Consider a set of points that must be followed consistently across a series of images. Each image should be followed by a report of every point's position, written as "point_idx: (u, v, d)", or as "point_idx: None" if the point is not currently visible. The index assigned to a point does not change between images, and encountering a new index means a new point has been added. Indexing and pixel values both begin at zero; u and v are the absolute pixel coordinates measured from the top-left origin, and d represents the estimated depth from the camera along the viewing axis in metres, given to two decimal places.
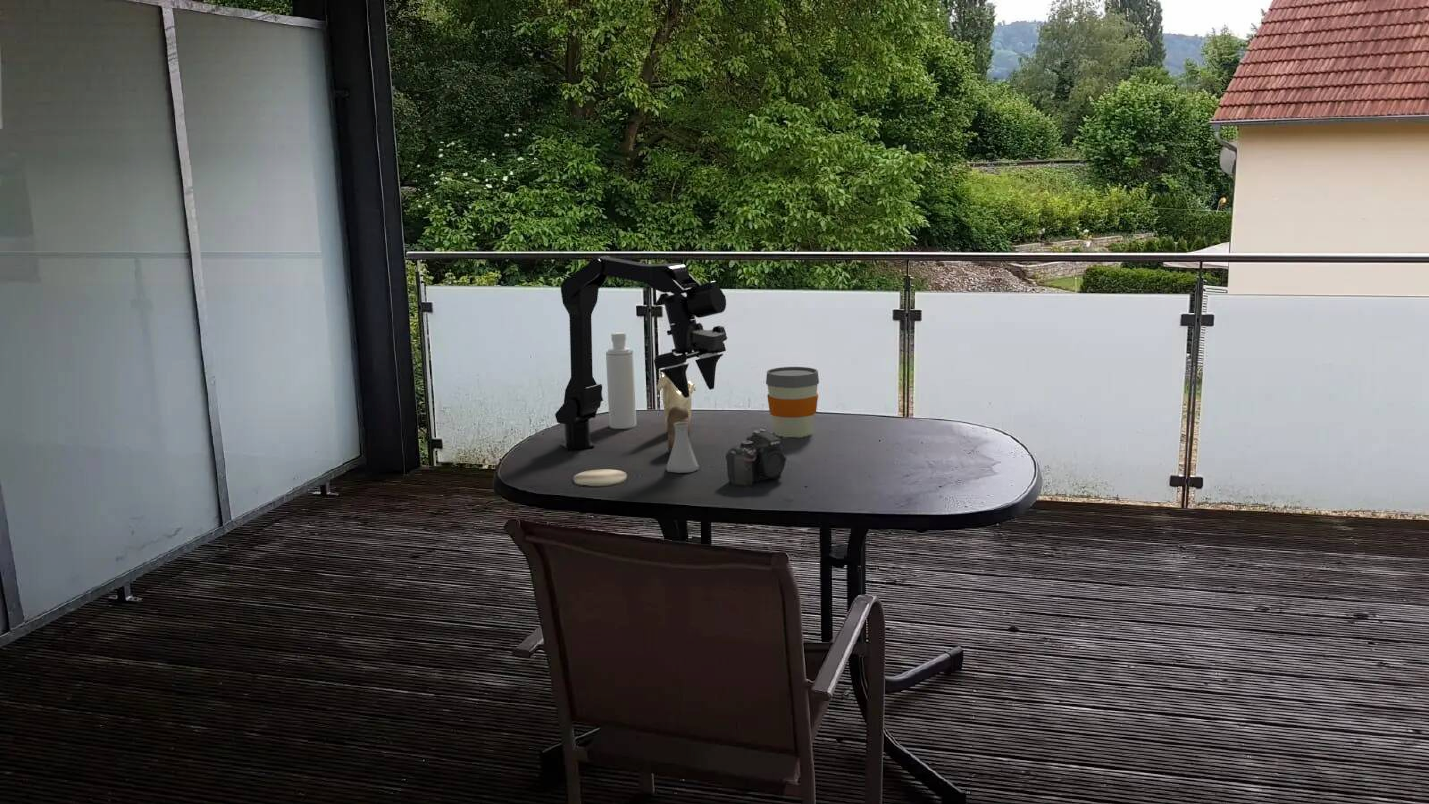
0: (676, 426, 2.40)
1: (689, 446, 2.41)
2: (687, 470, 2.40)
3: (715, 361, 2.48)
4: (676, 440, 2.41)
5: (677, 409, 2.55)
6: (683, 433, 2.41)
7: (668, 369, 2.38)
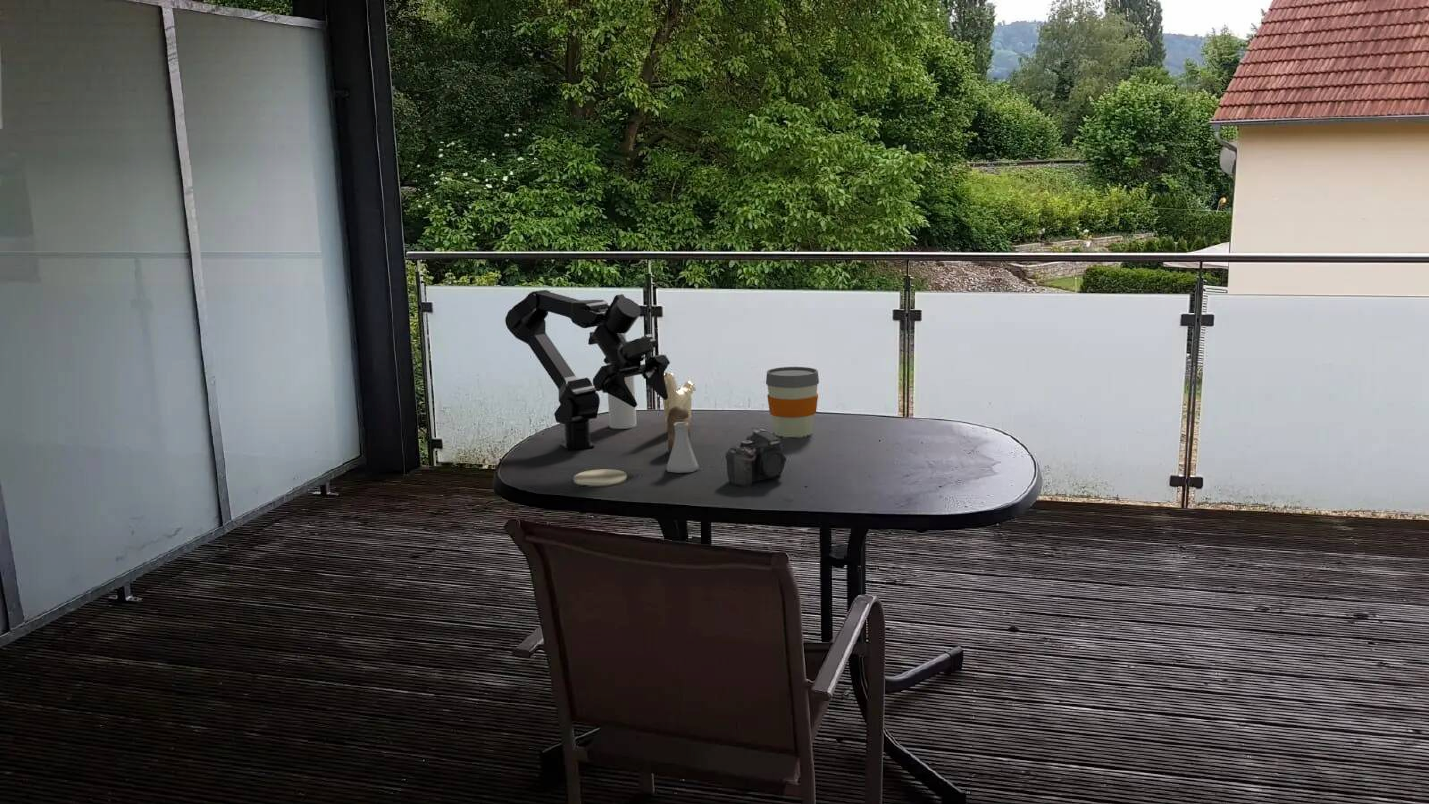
0: (676, 426, 2.40)
1: (689, 446, 2.41)
2: (687, 470, 2.40)
3: (661, 372, 2.51)
4: (676, 440, 2.41)
5: (677, 409, 2.55)
6: (683, 433, 2.40)
7: (607, 385, 2.43)
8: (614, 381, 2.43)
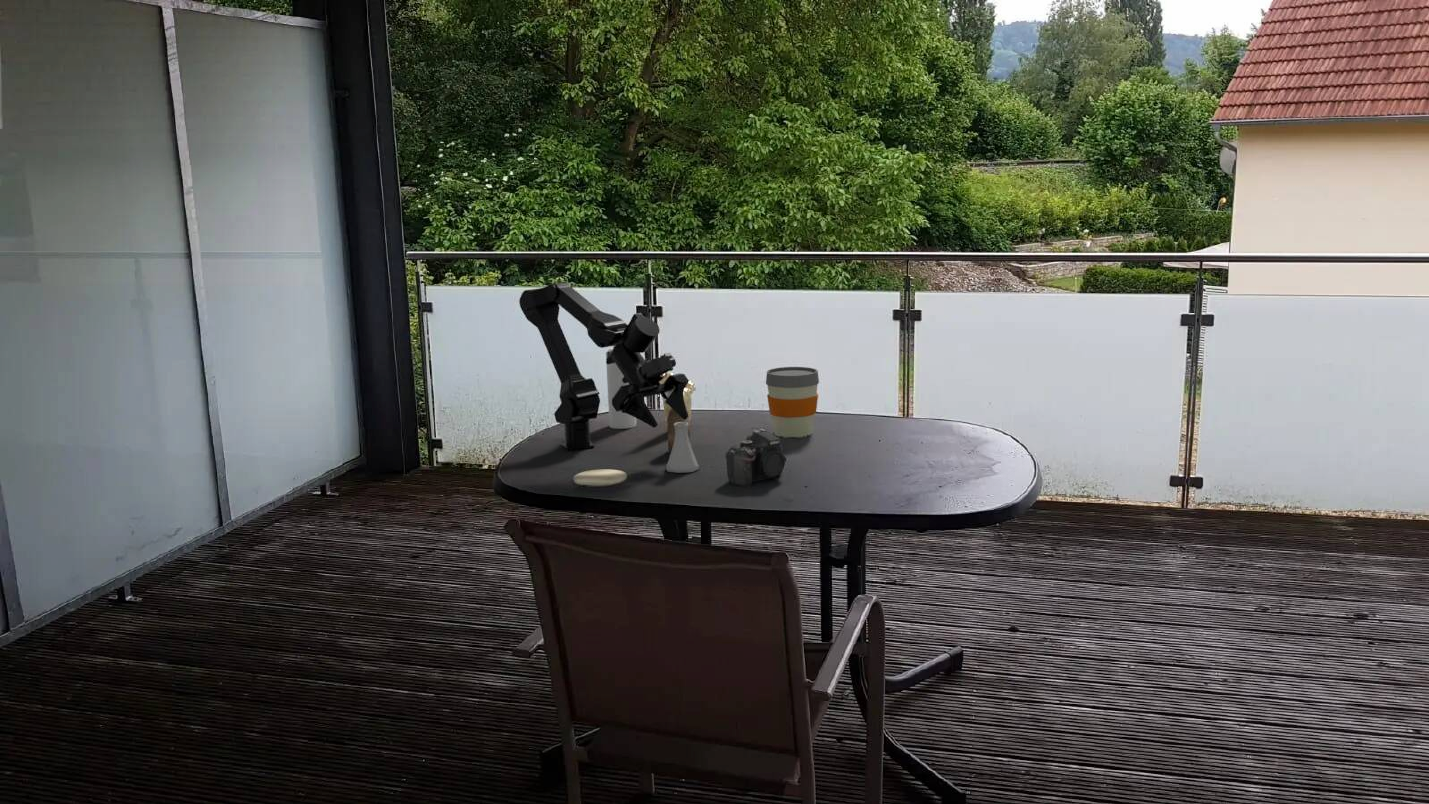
0: (676, 426, 2.40)
1: (689, 446, 2.41)
2: (687, 470, 2.40)
3: (680, 391, 2.48)
4: (676, 440, 2.41)
5: None
6: (683, 433, 2.40)
7: (626, 405, 2.40)
8: (634, 401, 2.40)
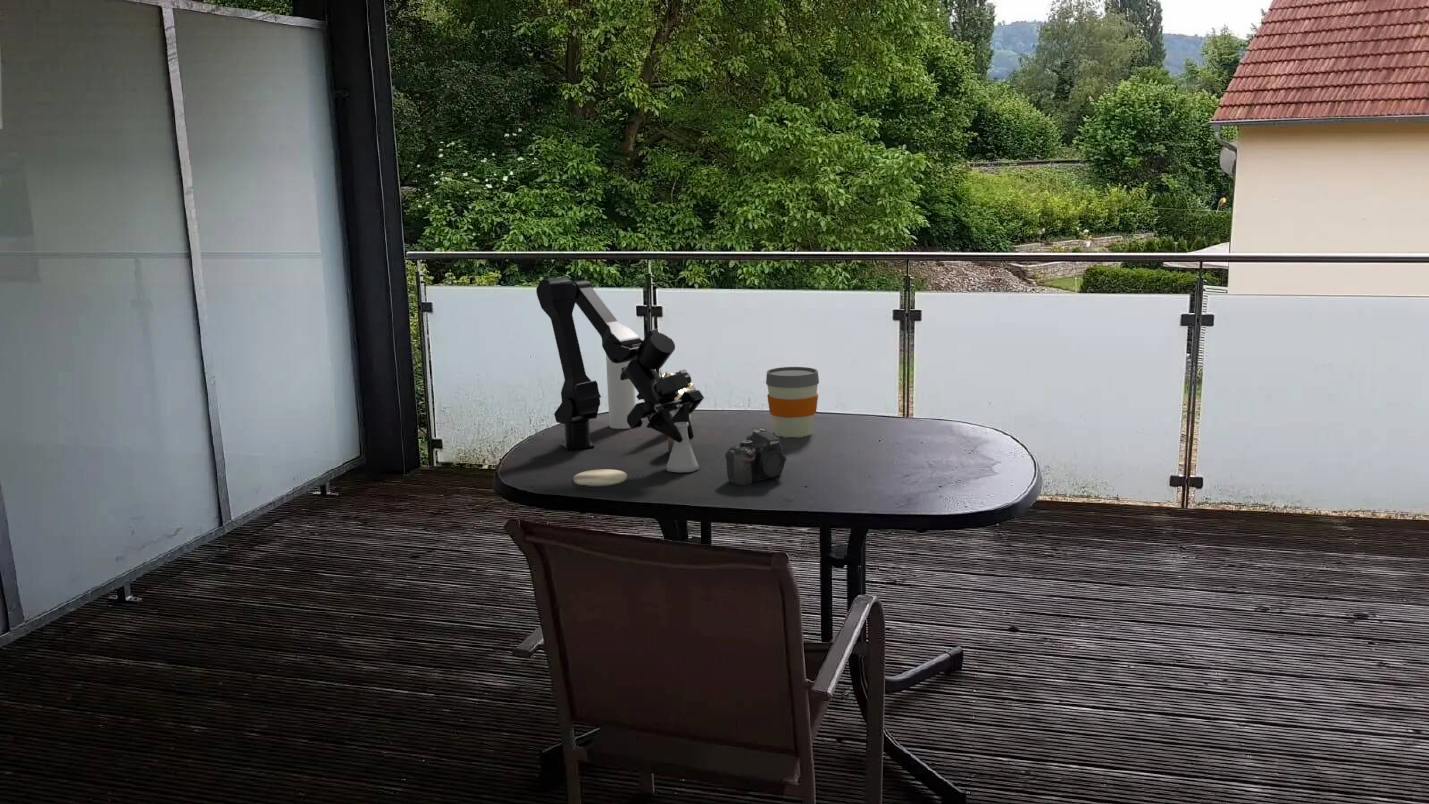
0: (676, 426, 2.40)
1: (689, 446, 2.41)
2: (687, 470, 2.40)
3: (685, 411, 2.44)
4: None
5: None
6: (683, 433, 2.40)
7: (651, 420, 2.40)
8: (659, 416, 2.40)
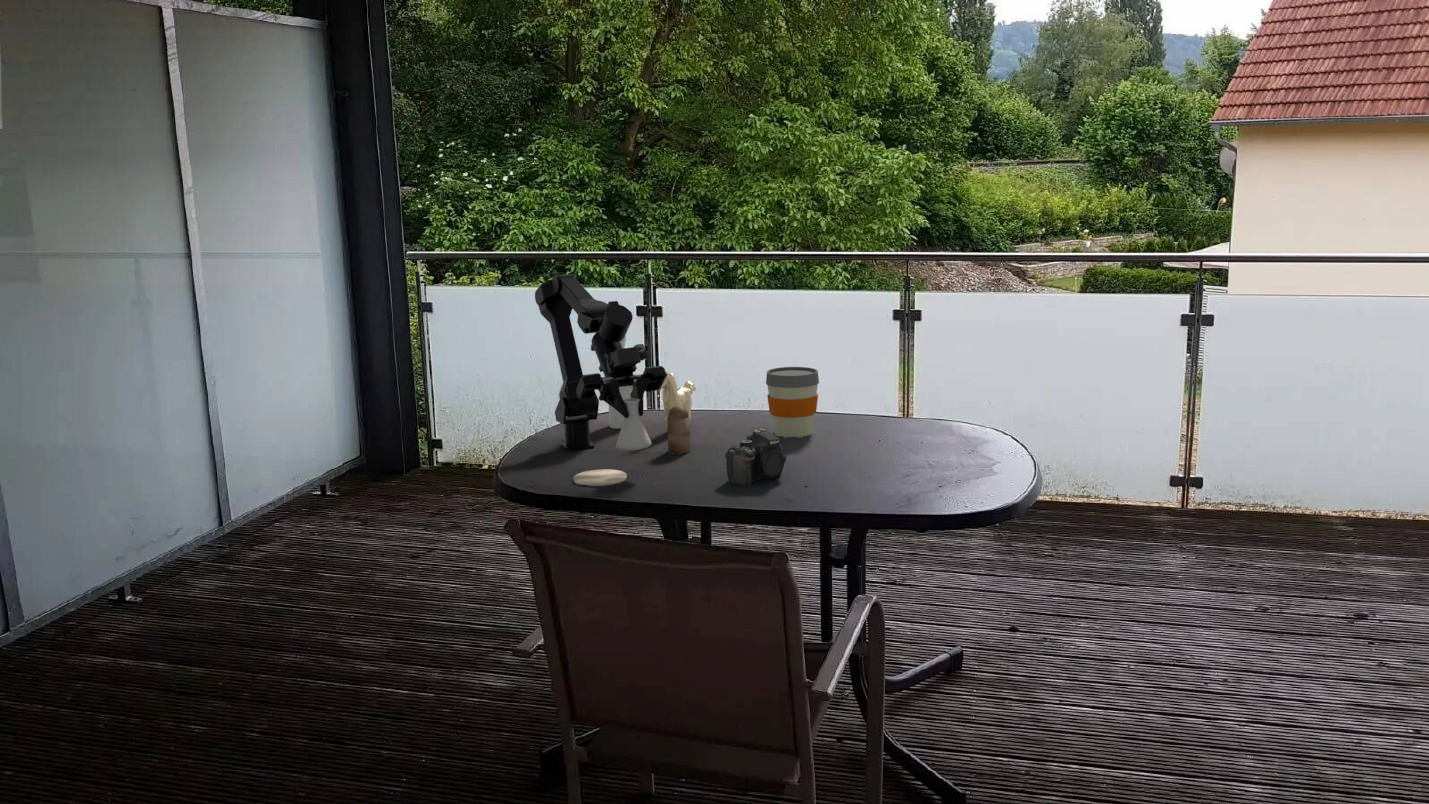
0: (624, 402, 2.35)
1: (637, 423, 2.35)
2: (631, 447, 2.34)
3: (640, 386, 2.37)
4: None
5: (677, 409, 2.55)
6: (631, 410, 2.35)
7: (601, 393, 2.36)
8: (608, 389, 2.35)
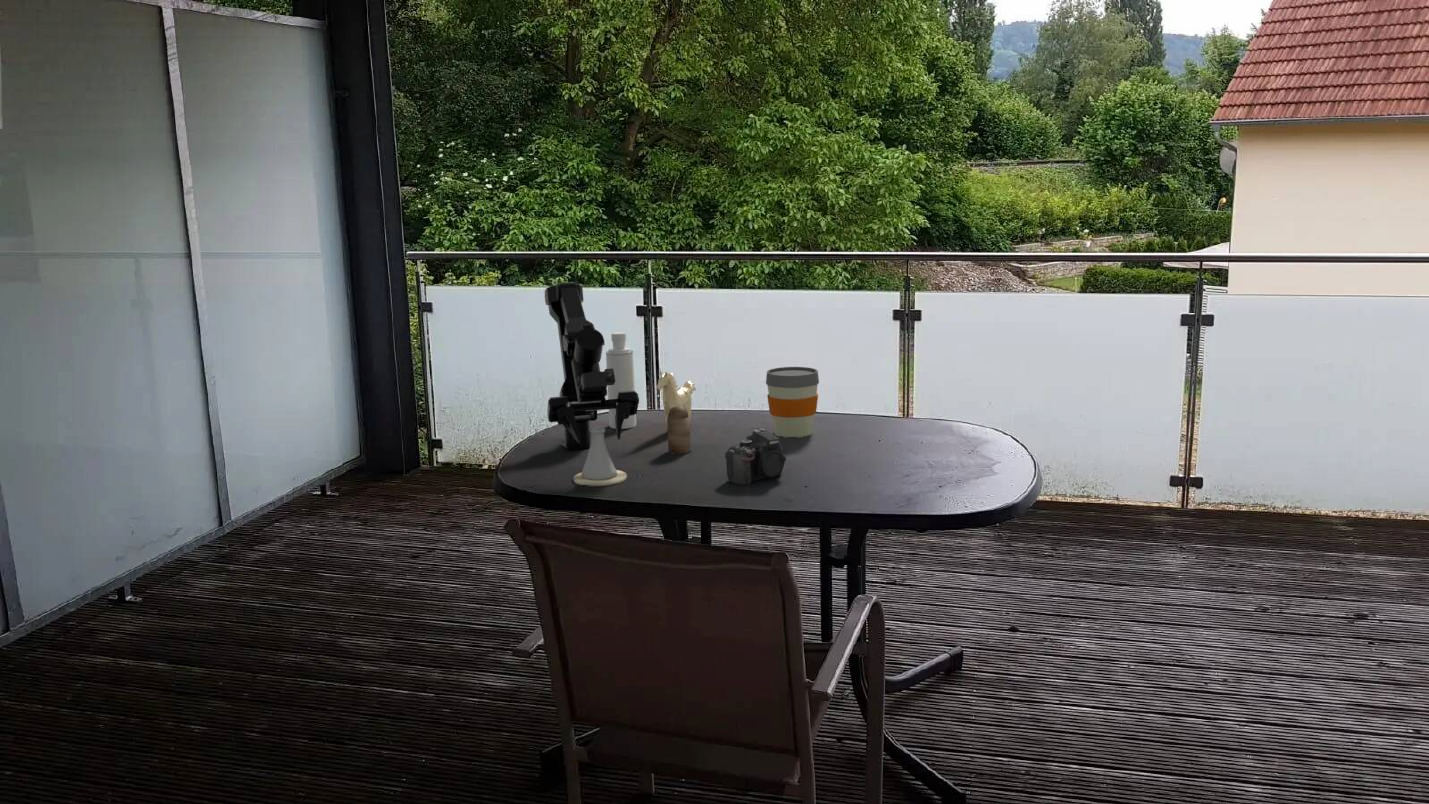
0: (589, 431, 2.35)
1: (601, 453, 2.35)
2: (592, 477, 2.34)
3: (620, 410, 2.37)
4: (590, 445, 2.36)
5: (677, 409, 2.55)
6: (595, 439, 2.35)
7: (558, 417, 2.36)
8: (563, 414, 2.35)
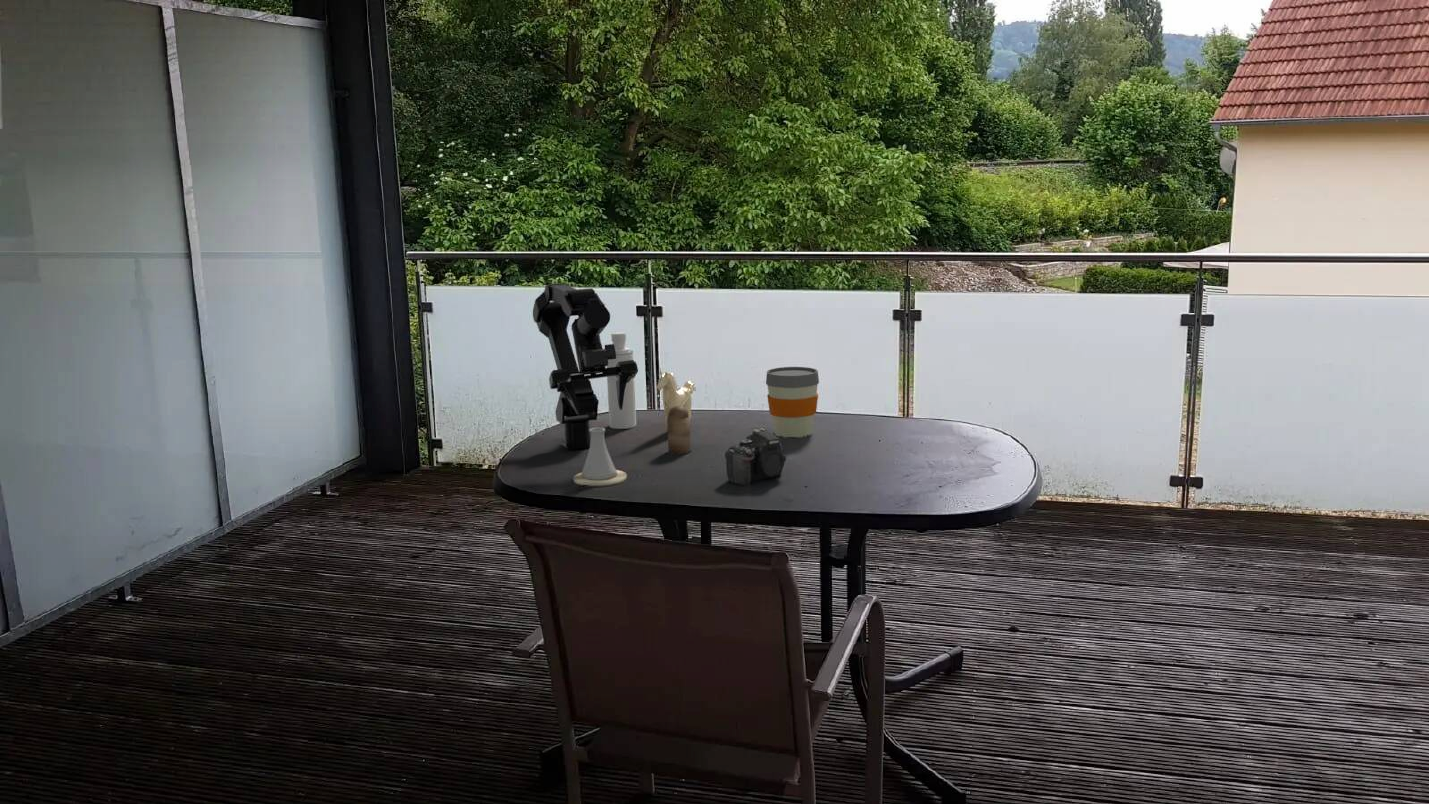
0: (589, 431, 2.35)
1: (601, 453, 2.35)
2: (592, 477, 2.34)
3: (622, 381, 2.47)
4: (590, 445, 2.36)
5: (677, 409, 2.55)
6: (595, 439, 2.35)
7: (558, 387, 2.46)
8: (563, 386, 2.45)
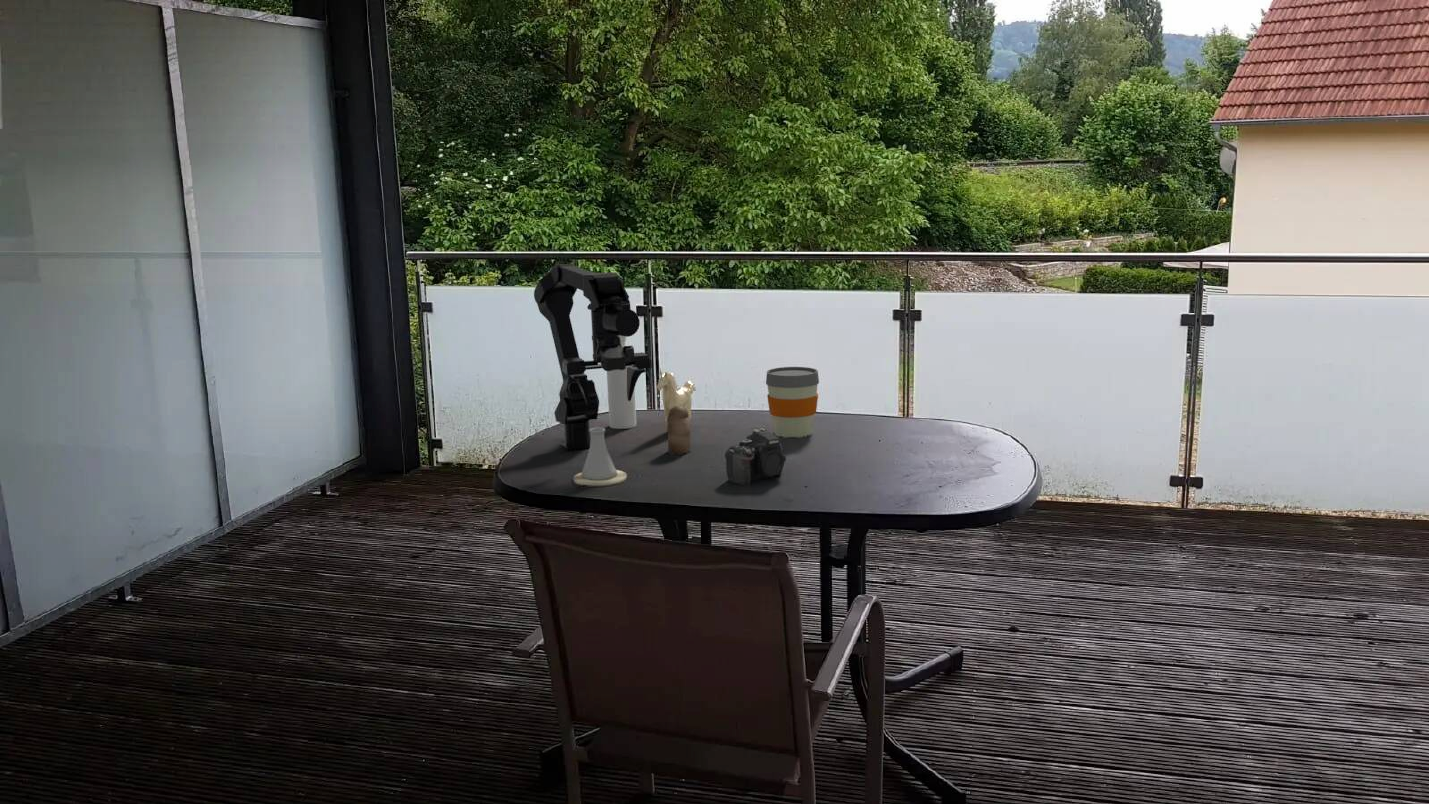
0: (589, 431, 2.35)
1: (601, 453, 2.35)
2: (592, 477, 2.34)
3: (635, 376, 2.49)
4: (590, 445, 2.36)
5: (677, 409, 2.55)
6: (595, 439, 2.35)
7: (570, 375, 2.46)
8: None
